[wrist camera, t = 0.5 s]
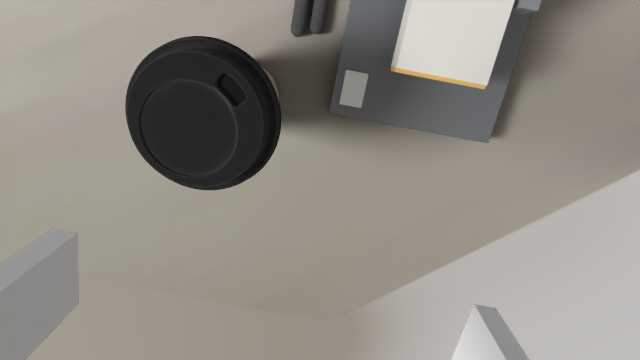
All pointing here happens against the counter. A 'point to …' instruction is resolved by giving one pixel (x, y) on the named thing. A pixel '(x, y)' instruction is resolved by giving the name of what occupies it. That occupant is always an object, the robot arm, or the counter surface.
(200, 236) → the counter surface
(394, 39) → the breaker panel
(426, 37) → the plate
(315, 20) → the cords
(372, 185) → the counter surface
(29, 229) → the counter surface
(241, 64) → the coffee cup
